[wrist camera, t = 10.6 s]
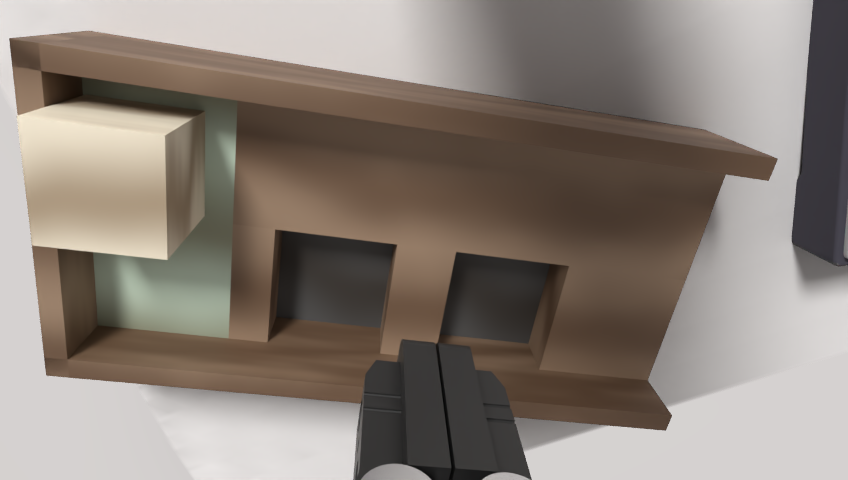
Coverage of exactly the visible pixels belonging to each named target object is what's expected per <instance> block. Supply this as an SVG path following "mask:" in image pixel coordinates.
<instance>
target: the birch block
mask: <svg viewBox="0 0 848 480" xmlns="http://www.w3.org/2000/svg"><path fill="white" fill-rule="evenodd" d="M17 123H18V131H19V139H20V148H21V156H22V164H23V172H24V181H25V189H26V198H27V205H28V214H29V222H30V231H31V240H32V246H42V247H51V248H60V249H70V250H79V251H88V252H98V253H107V254H116V255H125V256H135V257H144V258H153V259H163V260H168V259H169V258H170V256H171V255H172V254H173V253H174V252H175V250H176V249H177V248H178V247H179V246H180V245H181V243H182V242H183V241H184V240H185V239H186V237H187V236H188V235H189V234H190V233H191V231H192V230H193V229H194V228H195V227H196V225H197V224H198V223H199V222H200V221H201V220H202V218H203V217H204V216H205V111H202V110H195V109H188V108H180V107H173V106H166V105H159V104H152V103H144V102H137V101H130V100H123V99H116V98H108V97H101V96H94V95H87V94H86V95H83V96H79V97H76V98H73V99H70V100H66V101H63V102H60V103H57V104H53V105H50V106H47V107H44V108H40V109H37V110H34V111H31V112H27V113H24V114H21V115H18V116H17Z"/></svg>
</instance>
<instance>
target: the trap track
mask: <svg viewBox="0 0 848 480" xmlns="http://www.w3.org/2000/svg"><path fill="white" fill-rule="evenodd" d="M9 40H10V49H11V58H12V67H13V77H14V86H15V95H16V104H17V113H18V115H21V114H24V113H27V112H31V111H34V110H37V109H40V108H44V107H47V106H50V105H53V104H57V103H60V102H63V101H66V100H70V99H73V98H76V97H79V96H83V95H86V94H87V95H94V96H101V97H108V98H116V99H123V100H130V101H137V102H144V103H152V104H159V105H166V106H173V107H180V108H188V109H195V110H202V111H205V216H204V217H203V218H202V220H201V221H200V222H199V223H198V224H197V225H196V227H195V228H194V229H193V230H192V231H191V233H190V234H189V235H188V236H187V237H186V239H185V240H184V241H183V242H182V243H181V245H180V246H179V247H178V248H177V249H176V250H175V252H174V253H173V254H172V255H171V256H170V258H169V259H168V260H163V259H153V258H144V257H135V256H125V255H116V254H107V253H98V252H88V251H79V250H70V249H60V248H51V247H42V246H32V249H33V259H34V268H35V276H36V286H37V294H38V304H39V313H40V323H41V332H42V341H43V350H44V358H45V368H46V375H47V376H58V377H69V378H80V379H92V380H103V381H114V382H125V383H137V384H148V385H159V386H171V387H182V388H193V389H204V390H216V391H227V392H238V393H249V394H261V395H272V396H283V397H294V398H306V399H317V400H328V401H339V402H351V403H361V400H362V393H363V386H364V380H365V374H366V373H367V371H368V370H369V369H370V367H371V366H372V365H373V363H374V362H375V361H376V360H383V361H392V362H397V359H398V353H399V347H400V343H401V340H402V339H407V340H416V341H426V342H434V343H435V344H436V343H446V344H455V345H465V346H470V348H471V352H472V356H473V361H474V365H475V370H483V371H491V372H492V373H493V374H494V375H495V376H496V377H497V379H498V380H499V381H500V382H501V383H502V385H503V386H504V387H505V389H506V393H507V396H508V400H509V403H510V409H511V410H512V413H513V417H520V418H531V419H542V420H553V421H565V422H576V423H587V424H599V425H610V426H621V427H632V428H644V429H655V430H666V429H667V426H668V424H669V422H670V419H671V417H672V415H671V413H670V412H669V411H668V409H667V408H666V406H665V405H664V403H663V402H662V401H661V399H660V398H659V396H658V395H657V393H656V392H655V390H654V389H653V388H652V386H651V385H650V383H649V382H648V378H649V375H650V372H651V370H652V367H653V364H654V362H655V359H656V357H657V354H658V351H659V349H660V346H661V343H662V341H663V338H664V336H665V333H666V330H667V328H668V325H669V322H670V320H671V317H672V314H673V312H674V309H675V307H676V304H677V301H678V299H679V296H680V293H681V291H682V288H683V286H684V283H685V280H686V278H687V275H688V272H689V270H690V267H691V264H692V262H693V259H694V257H695V254H696V251H697V249H698V246H699V243H700V241H701V238H702V236H703V233H704V230H705V228H706V225H707V222H708V220H709V217H710V214H711V212H712V209H713V207H714V204H715V201H716V199H717V196H718V193H719V191H720V188H721V186H722V183H723V180H724V178H725V175H726V174H727V175H734V176H740V177H747V178H753V179H760V180H767V181H769V179H770V176H771V174H772V172H773V169H774V167H775V164H776V162H777V158H774V157H772V156H769V155H767V154H764V153H762V152H759V151H757V150H754V149H752V148H749V147H747V146H744V145H742V144H739V143H737V142H734V141H732V140H729V139H727V138H724V137H722V136H719V135H716V134H714V133H711V132H709V131H706V130H702V129H696V128H690V127H684V126H677V125H671V124H665V123H659V122H652V121H646V120H640V119H634V118H628V117H621V116H615V115H609V114H603V113H597V112H590V111H584V110H578V109H572V108H565V107H559V106H553V105H547V104H541V103H534V102H528V101H522V100H516V99H509V98H503V97H497V96H491V95H485V94H478V93H472V92H466V91H460V90H453V89H447V88H441V87H435V86H429V85H422V84H416V83H410V82H404V81H398V80H391V79H385V78H379V77H373V76H366V75H360V74H354V73H348V72H342V71H335V70H329V69H323V68H317V67H310V66H304V65H298V64H292V63H286V62H279V61H273V60H267V59H261V58H255V57H248V56H242V55H236V54H230V53H223V52H217V51H211V50H205V49H199V48H192V47H186V46H180V45H174V44H167V43H161V42H155V41H149V40H143V39H136V38H130V37H124V36H118V35H111V34H105V33H99V32H93V31H81V32H71V33H61V34H50V35H40V36H30V37H19V38H9ZM31 241H32V240H31Z"/></svg>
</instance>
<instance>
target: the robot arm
mask: <svg viewBox="0 0 848 480" xmlns="http://www.w3.org/2000/svg"><path fill="white" fill-rule="evenodd" d="M514 421H515V420H514V417H513V413H512V410H511V409H510V403H509V400H508V396H507V393H506V389H505V387H504V386H503V385H502V383H501V382H500V381H499V380H498V379H497V377H496V376H495V375H494V374H493V373H492V372H491V371H483V370H475V365H474V361H473V356H472V352H471V348H470V346H465V345H455V344H446V343H436V344H435V343H434V342H426V341H416V340H407V339H402V340H401V343H400V347H399V353H398V359H397V362H392V361H383V360H376V361H375V362H374V363H373V365H372V366H371V367H370V369H369V370H368V371H367V373H366V374H365V380H364V386H363V393H362V400H361V407H360V413H359V420H358V427H357V438H356V452H355V467H354V479H353V480H532V479H531V476H530V473H529V469H528V466H527V462H526V458H525V455H524V452H523V448H522V445H521V441H520V438H519V434H518V431H517V427H516V424H514Z"/></svg>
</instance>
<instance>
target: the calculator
mask: <svg viewBox="0 0 848 480" xmlns="http://www.w3.org/2000/svg"><path fill="white" fill-rule="evenodd" d="M792 242H793V244H795V245H797V246H799V247H800V248H802V249H804V250H806V251H808V252H810V253H812V254H814V255H816V256H818V257H820V258H822V259H824V260H826V261H828V262H830V263H832V264H834V265H836V266H845V265H848V0H813V10H812V21H811V33H810V44H809V55H808V69H807V87H806V105H805V123H804V141H803V158H802V172H801V174H800V176H799V178H798V180H797V185H796V196H795V207H794V218H793V229H792Z"/></svg>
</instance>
